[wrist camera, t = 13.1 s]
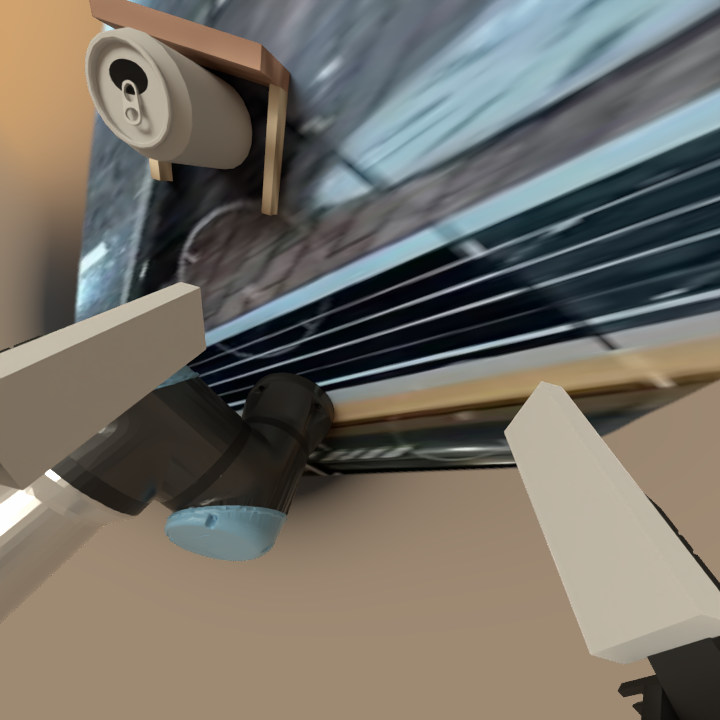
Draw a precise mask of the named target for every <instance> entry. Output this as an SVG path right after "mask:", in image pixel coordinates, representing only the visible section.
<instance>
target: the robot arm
mask: <svg viewBox="0 0 720 720" xmlns="http://www.w3.org/2000/svg"><path fill="white" fill-rule="evenodd" d="M204 350H206V343H205V332H204V322H203V312H202V302H201V292H200V287H196V286H193V285H189V284H186V283H182V282H180V283H177V284H175V285H172V286H170V287H167V288H164V289H162V290H159V291H157V292H154V293H152V294H149V295H147V296H144V297H142V298H139V299H137V300H134V301H132V302H129V303H126V304H124V305H121V306H119V307H116V308H114V309H111V310H109V311H106V312H104V313H101V314H99V315H96V316H93V317H91V318H88V319H86V320H83V321H81V322H78V323H76V324H73V325H71V326H68V327H66V328H63V329H61V330H58V331H55V332H53V333H51V334H46V335H41V336H37V337H35V338H32V339H30V340H27V341H25V342H22V343H19V344H17V345H14V347H13V348H7V349H4V350H1V351H0V624H1V623H2V621H4V620H5V619H6V618H7V617H8V616H9V615H10V614H11V613H12V612H13V611H14V610H15V609H16V608H18V606H20V605H21V604H22V603H23V602H24V601H25V600H26V599H27V598H28V597H29V596H30V595H31V594H32V593H33V592H34V591H36V590H37V589H38V588H39V587H40V586H41V585H42V584H43V583H44V582H45V581H46V580H47V579H48V578H49V577H50V576H51V575H52V574H53V573H54V572H56V571H57V570H58V569H59V568H60V567H61V566H62V565H63V564H64V563H65V562H66V561H67V560H68V559H69V558H70V557H72V556H73V555H74V554H75V553H76V552H77V551H78V550H79V549H80V548H81V547H82V546H83V545H84V544H85V543H86V542H87V541H88V540H90V539H91V538H92V537H93V536H94V535H95V534H96V533H97V532H98V531H99V530H100V529H101V528H102V527H103V526H105V525H107V524H110V523H115V522H119V521H124V520H129V519H133V518H135V517H136V516H137V515H138V514H139V513H141V512H142V511H143V509H144V508H146V507H147V506H148V505H149V504H150V503H151V502H152V501H153V500H156V501H158V502H160V503H161V504H163V505H164V506H166V507H167V508H169V509H170V510H171V511H172V512H173V513H172V514H171V515H170V516H169V517H168V518H167V523H166V525H165V534H166V536H168V537H169V539H170V541H172V542H173V543H174V544H176V545H178V546H179V547H181V548H183V549H185V550H188V551H190V552H193V553H196V554H199V555H202V556H206V557H210V558H215V559H220V560H229V561H246V560H252V559H256V558H259V557H261V556H263V555H265V554H266V553H267V552H269V550H270V549H271V548H272V547H273V545H274V543H275V541H276V539H277V537H278V535H279V533H280V530H281V528H282V526H283V524H284V523H285V522H286V520H287V514H288V511H289V509H290V506H291V503H292V500H293V498H294V495H295V492H296V489H297V486H298V484H299V481H300V478H301V476H302V473H303V471H304V468H305V465H306V462H307V460H308V457H309V455H310V454H311V453H312V452H313V451H314V450H315V448H316V447H317V446H318V445H319V444H320V443H321V442H322V440H323V439H324V438H325V437H326V436H327V434H328V432H329V430H330V428H331V425H332V422H333V418H334V410H333V406H332V403H331V401H330V399H329V397H328V396H327V394H326V393H325V392H324V391H323V390H322V389H321V388H320V387H319V386H318V385H316V384H315V383H314V382H312V381H310V380H309V379H307V378H304V377H302V376H299V375H296V374H291V373H273V374H269V375H267V376H265V377H263V378H261V379H260V380H259V381H258V382H257V383H256V384H255V385H254V387H253V388H252V389H251V391H250V392H249V394H248V396H247V399H246V403H245V407H244V410H243V414H242V418H241V417H240V416H239V415H238V414H237V413H236V412H235V411H234V410H233V409H232V408H231V407H230V406H229V405H228V404H227V403H226V402H224V401H223V400H222V399H221V398H220V397H219V396H218V395H217V394H216V393H215V392H214V391H213V390H212V389H211V388H210V387H209V386H208V385H207V384H206V383H205V382H203V381H202V380H201V379H200V378H199V377H198V376H200V375H199V374H198V373H195V372H193V371H192V370H191V369H190V368H189V367H188V366H186V364H187V363H189V362H190V361H191V360H193V359H194V358H195V357H197V356H198V355H199V354H200V353H202V352H203V351H204ZM504 433H505V436H506V438H507V441H508V443H509V446H510V449H511V451H512V454H513V456H514V459H515V461H516V464H517V467H518V469H519V472H520V474H521V477H522V479H523V482H524V484H525V487H526V490H527V492H528V495H529V497H530V500H531V502H532V505H533V508H534V510H535V513H536V515H537V518H538V521H539V523H540V526H541V528H542V531H543V534H544V536H545V539H546V541H547V544H548V546H549V549H550V552H551V554H552V557H553V559H554V562H555V565H556V567H557V570H558V572H559V575H560V577H561V580H562V583H563V585H564V588H565V590H566V593H567V595H568V598H569V601H570V603H571V606H572V608H573V611H574V614H575V616H576V619H577V621H578V624H579V626H580V629H581V631H582V634H583V637H584V639H585V642H586V644H587V647H588V649H589V652H590V655H593V656H597V657H600V658H604V659H607V660H611V661H614V662H618V663H621V664H628V663H631V662H635V661H638V660H641V659H645V658H648V659H649V661H650V663H651V665H652V667H653V669H654V671H655V673H656V675H652V676H648V677H644V678H641V679H637V680H633V681H629V682H625V683H622V684H621V686H620V688H619V690H618V692H619V693H620V694H621V695H622V696H623V697H627V696H632V695H636V694H641V693H642V694H643V701H642V702H637V703H635V704H633V707H634V708H635V710H636V711H637V712H638V713H639V714H640V715H641V720H720V583H719V582H718V580H717V579H716V578H715V577H714V575H713V574H712V573H711V572H710V570H709V569H708V568H707V566H706V565H705V564H704V563H703V561H702V560H701V559H700V557H699V556H698V555H696V554H694V553H693V549H692V547H691V546H690V545H689V544H688V542H687V541H686V540H685V538H684V537H683V536H682V535H679V534H678V530H677V528H676V527H675V526H674V525H673V523H672V522H671V521H670V519H669V518H668V517H667V516H666V514H665V513H664V512H663V511H662V509H661V508H660V507H659V506H657V505H656V504H655V503H654V502H653V501H652V500H651V499H650V498H649V497H648V496H647V495H646V494H644V492H642V490H641V489H640V488H639V487H638V485H637V484H636V482H634V480H633V479H632V477H631V476H630V475H629V473H628V472H627V471H626V469H625V468H624V467H623V466H622V464H621V463H620V462H619V460H618V459H617V458H616V457H615V455H614V454H613V453H612V451H611V450H610V449H609V447H608V446H607V445H606V444H605V442H604V441H603V440H602V438H601V437H600V436H599V435H598V433H597V432H596V431H595V429H594V428H593V427H592V425H591V424H590V423H589V422H588V420H587V419H586V418H585V416H584V415H583V414H582V412H581V411H580V410H579V409H578V407H577V406H576V405H575V403H574V402H573V401H572V400H571V398H570V397H569V396H568V394H567V393H566V392H565V390H564V389H563V388H562V387H561V386H557V385H553V384H550V383H546V382H543V381H541V382H540V384H539V385H538V386H537V388H536V389H535V390H534V392H533V393H532V394H531V396H530V397H529V399H528V400H527V401H526V403H525V404H524V405H523V407H522V408H521V409H520V411H519V412H518V414H517V415H516V416H515V418H514V419H513V420H512V422H511V423H510V424H509V426H508V427H507V428H506V430H505V431H504Z"/></svg>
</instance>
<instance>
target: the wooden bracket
mask: <svg viewBox="0 0 720 720" xmlns="http://www.w3.org/2000/svg"><path fill="white" fill-rule="evenodd" d="M89 1H90V6H91V12H92V16H93V17H95V18H96V19H98V20H100V21H102V22H104V23H105V24H107V25H109V26H111V27H113V28H114V29H120V28H125V27H130V28H133V29H136V30H139V31H142V32H145V33H147V34H148V35H150V36H152V37H153V38H155V39H157V40H158V41H160V42H162V43H163V44H165V45H167V46H168V47H170V48H171V49H173V50H175V51H176V52H178V53H180V54H181V55H183V56H185V57H186V58H188V59H190V60H191V61H193V62H195V63H196V64H199V65H202V66H205V67H208V68H211V69H214V70H217V71H221V72H224V73H227V74H230V75H233V76H236V77H239V78H242V79H245V80H248V81H251V82H255V83H258V84H261V85H264V86H267V87H269V101H268V117H267V133H266V149H265V165H264V181H263V197H262V213H263V214H267V215H276V214H277V209H278V198H279V187H280V176H281V165H282V154H283V143H284V132H285V121H286V110H287V99H288V88H289V77H290V72H289V71H288V70H287V69H286V68H285V67H284V66H283V65H282V64H281V63H280V62H279V61H278V60H277V59H276V58H275V57H274V56H273V55H272V54H271V53H270V52H269V51H268V50H267V49H266V48H265V47H264V46H263V45H262V44H259V43H256V42H253V41H249V40H246V39H243V38H240V37H237V36H234V35H231V34H228V33H225V32H222V31H219V30H216V29H213V28H210V27H207V26H203V25H200V24H197V23H194V22H191V21H188V20H185V19H182V18H179V17H176V16H173V15H170V14H167V13H164V12H160V11H157V10H154V9H151V8H148V7H145V6H142V5H139V4H136V3H133V2H130V1H127V0H89ZM149 160H150V169H151V177H152V178H154V179H157V180H160V181H173V177H172V165H171V163H170V162H162V161H157V160H154V159H151V158H149Z"/></svg>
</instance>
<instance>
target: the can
mask: <svg viewBox="0 0 720 720" xmlns="http://www.w3.org/2000/svg"><path fill="white" fill-rule="evenodd" d="M85 74H86V79H87V84H88V89H89V92H90V95H91V97H92V100H93V102H94V105H95V107H96V109H97V111H98V112H99V114H100V116H101V117H102V119H103V120H104V122H105V124H106V125H107V126H108V127H109V128H110V129H111V130H112V131H113V132H114V134H115V135H116V136H117V137H118V138H120V139H121V140H123V141H124V142H126V143H127V144H129V145H130V146H131V147H132V148H133V149H135V150H136V151H138V152H139V153H140V154H142V155H143V156H145V157H148V158H151V159H154V160H157V161H162V162H170V163H178V164H186V165H194V166H202V167H210V168H218V169H232V168H235V167H237V166H238V165H240V164H242V162H243V161H244V160H245V158H246V157H247V156H248V154H249V150H250V147H251V144H252V126H251V121H250V115H249V113H248V110H247V108H246V106H245V104H244V101H243V100H242V98H241V97H240V95H239V94H238V93H237V91H236V90H235V89H234V88H233V87H232V86H231V85H229V84H228V83H227V82H225V81H224V80H223V79H221V78H220V77H218V76H216V75H215V74H213V73H211V72H210V71H208V70H206V69H205V68H203V67H201V66H200V65H198V64H196V63H195V62H193V61H191V60H190V59H188V58H186V57H185V56H183V55H181V54H180V53H178V52H176V51H175V50H173V49H171V48H170V47H168V46H167V45H165V44H163V43H162V42H160V41H158V40H157V39H155V38H153V37H152V36H150V35H148V34H147V33H145V32H142V31H139V30H136V29H133V28H130V27H125V28H120V29H114V30H110V31H104V32H100V33H99V34H98V35H96V36H95V37H94V38H93V39H92V40H91V41H90V44H89V47H88V49H87V52H86V58H85Z"/></svg>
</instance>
